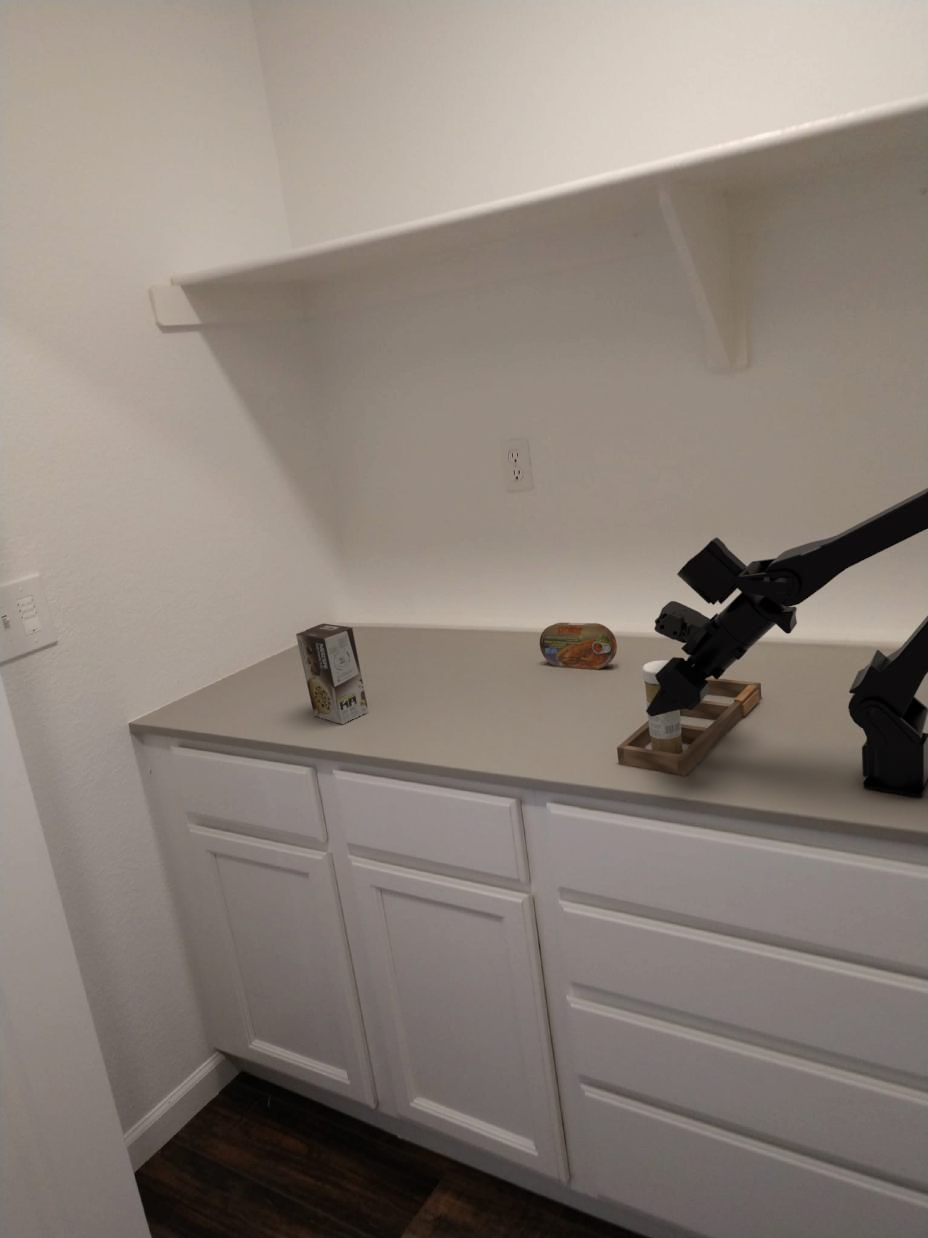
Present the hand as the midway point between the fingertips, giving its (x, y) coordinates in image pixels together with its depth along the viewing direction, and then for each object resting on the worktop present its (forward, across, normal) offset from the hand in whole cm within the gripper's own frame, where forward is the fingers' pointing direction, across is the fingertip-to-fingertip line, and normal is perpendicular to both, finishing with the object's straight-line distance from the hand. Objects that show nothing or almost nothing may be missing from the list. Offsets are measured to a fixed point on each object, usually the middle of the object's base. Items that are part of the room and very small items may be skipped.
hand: (660, 700), depth 118 cm
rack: (+5, -9, +7) cm, 12 cm away
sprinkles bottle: (+6, 0, +6) cm, 8 cm away
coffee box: (+49, 0, -37) cm, 62 cm away
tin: (+26, -31, -13) cm, 43 cm away
